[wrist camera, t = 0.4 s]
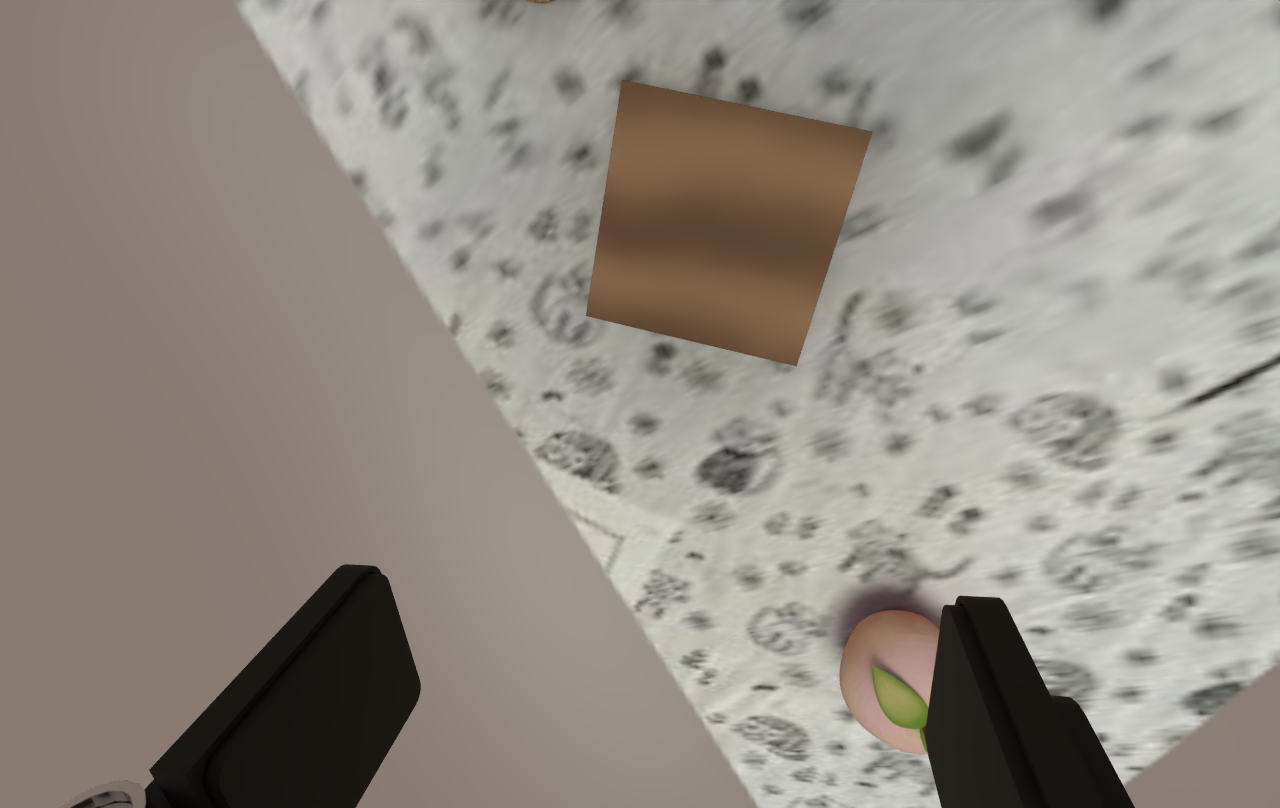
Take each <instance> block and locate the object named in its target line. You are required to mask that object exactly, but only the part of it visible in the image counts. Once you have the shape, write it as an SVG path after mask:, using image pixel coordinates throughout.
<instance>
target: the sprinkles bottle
mask: <svg viewBox="0 0 1280 808" xmlns="http://www.w3.org/2000/svg"><path fill="white" fill-rule="evenodd" d="M528 1H534V2H540V3H543V2H548V1H551V0H528Z"/></svg>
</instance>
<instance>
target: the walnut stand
mask: <svg viewBox="0 0 1280 808" xmlns="http://www.w3.org/2000/svg"><path fill="white" fill-rule="evenodd" d="M871 135H872V132H871V131H866V130H861V129H857V128H852V127H847V126H842V125H837V124H832V123H828V122H823V121H818V120H813V119H808V118H804V117H799V116H794V115H789V114H784V113H779V112H775V111H770V110H765V109H760V108H755V107H750V106H746V105H741V104H736V103H731V102H726V101H722V100H717V99H712V98H707V97H702V96H697V95H693V94H688V93H683V92H678V91H673V90H668V89H664V88H659V87H654V86H649V85H644V84H640V83H635V82H630V81H625V80H622V84H621V91H620V97H619V104H618V110H617V117H616V123H615V130H614V136H613V143H612V150H611V156H610V163H609V169H608V176H607V182H606V189H605V195H604V202H603V208H602V215H601V221H600V228H599V234H598V241H597V247H596V254H595V260H594V267H593V274H592V280H591V287H590V293H589V300H588V306H587V313H586V316H589V317H593V318H597V319H601V320H605V321H609V322H614V323H618V324H622V325H626V326H630V327H635V328H639V329H643V330H647V331H651V332H655V333H660V334H664V335H668V336H672V337H676V338H681V339H685V340H689V341H693V342H697V343H701V344H706V345H710V346H714V347H718V348H722V349H727V350H731V351H735V352H739V353H743V354H747V355H752V356H756V357H760V358H764V359H768V360H773V361H777V362H781V363H785V364H789V365H793V366H797V363H798V360H799V357H800V354H801V351H802V348H803V344H804V341H805V338H806V335H807V332H808V329H809V326H810V323H811V320H812V317H813V314H814V311H815V307H816V304H817V301H818V298H819V295H820V292H821V289H822V286H823V283H824V280H825V277H826V273H827V270H828V267H829V264H830V261H831V258H832V255H833V252H834V249H835V246H836V243H837V240H838V236H839V233H840V230H841V227H842V224H843V221H844V218H845V215H846V212H847V209H848V206H849V203H850V199H851V196H852V193H853V190H854V187H855V184H856V181H857V178H858V175H859V172H860V169H861V166H862V162H863V159H864V156H865V153H866V150H867V147H868V144H869V141H870V138H871Z"/></svg>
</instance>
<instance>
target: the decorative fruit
mask: <svg viewBox="0 0 1280 808" xmlns="http://www.w3.org/2000/svg"><path fill="white" fill-rule="evenodd" d="M939 631H940V628H937V627H936V626H935V625H934V623H932V622H931V621H930V620H928V619H927V618H925V617H923V616H921V615H919V614H916V613H912V612H908V611H901V610H886V611H881V612H877V613H874V614H872V615H869V616H868V617H866V618H865V619H863V620H862V621H861V622H860V623H859V624H858V625H857V626H856V627H855V629H854V630H853V632H852V633H851V635H850V637H849V639H848V641H847V644H846V646H845V649H844V652H843V656H842V660H841V665H840V687H841V691H842V695H843V698H844V700H845V702H846V705H847V707H848V708H849V710H850V712H851V713H852V715H853V716H854V717H855V719H856V720H857V721H858V722H859V723H860V724H861V726H862V727H864V728H865V729H866V730H867V731H868V732H869V733H871V734H872V735H874V736H875V737H876V738H878V739H879V740H881V741H882V742H884V743H886V744H887V745H889V746H891V747H893V748H896V749H898V750H901V751H904V752H908V753H914V754H928V751H927V745H926V722H927V715H928V708H929V701H930V694H931V687H932V680H933V673H934V666H935V659H936V652H937V645H938V638H939Z"/></svg>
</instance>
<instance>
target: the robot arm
mask: <svg viewBox="0 0 1280 808" xmlns="http://www.w3.org/2000/svg"><path fill="white" fill-rule="evenodd" d="M420 687H421V684H420V680H419V676H418V673H417V670H416V666H415V663H414V660H413V657H412V654H411V650H410V647H409V644H408V641H407V638H406V634H405V631H404V628H403V625H402V622H401V619H400V615H399V612H398V609H397V606H396V603H395V599H394V596H393V593H392V590H391V586H390V583H389V580H388V578H387V577H386V576H385V575H382V574H381V572H380V570H379V569H378V568H377V567H375V566H367V565H348V564H347V565H346V564H345V565H342V566H340V567H339V568H338V569H337V570H336V571H335V572H334V573H333V574H332V575H331V576H330V577H329V578H328V579H327V580H326V581H325V582H324V584H323V585H322V586H321V587H320V588H319V589H318V590H317V591H316V592H315V593H314V594H313V595H312V596H311V597H310V599H308V601H307V602H306V603H305V604H304V605H303V606H302V607H301V608H300V609H299V610H298V611H297V612H296V613H295V614H294V616H293V617H292V618H291V619H290V620H289V621H288V622H287V623H286V624H285V625H284V626H283V627H282V629H280V631H279V632H278V633H277V634H276V635H275V636H274V637H273V638H272V639H271V640H270V641H269V642H268V643H267V644H266V646H265V647H264V648H263V649H262V650H261V651H260V652H259V653H258V654H257V655H256V656H255V657H254V658H253V659H252V661H251V662H250V663H249V664H248V665H247V666H246V667H245V668H244V669H243V670H242V671H241V672H240V673H239V675H238V676H237V677H236V678H235V679H234V680H233V681H232V682H231V683H230V684H229V685H228V686H227V687H226V688H225V689H224V691H223V692H222V693H221V694H220V695H219V696H218V697H217V698H216V699H215V700H214V701H213V702H212V703H211V704H210V706H209V707H208V708H207V709H206V710H205V711H204V712H203V713H202V714H201V715H200V716H199V717H198V718H197V719H196V721H195V722H194V723H193V724H192V725H191V726H190V727H189V728H188V729H187V730H186V731H185V732H184V733H183V734H182V735H181V737H180V738H179V739H178V740H177V741H176V742H175V743H174V744H173V745H172V746H171V747H170V748H169V749H168V750H167V752H166V753H165V754H164V755H163V756H162V757H161V758H160V759H159V760H158V761H157V762H156V763H155V764H154V765H153V767H152V768H151V769H150V770H149V771H150V773H151V774H152V776H153V777H154V780H153V781H152V782H151V783H150V784H149V785H148V787H147V788H146V789H145V790H144V789H143V788H142V787H141V786H140V785H139V784H138V783H135V782H131V781H127V780H125V781H115V782H109V783H107V784H104V785H100V786H98V787H95V788H92V789H90V790H88V791H86V792H84V793H82V794H81V795H79V796H77V797H75V798H73V799H71V800H70V801H68V802H67V803H65V804H64V805H63V806H61V807H60V808H356V806H357V804H358V803H359V801H360V799H361V797H362V796H363V794H364V792H365V791H366V789H367V787H368V786H369V784H370V782H371V780H372V779H373V777H374V775H375V773H376V772H377V770H378V769H379V767H380V765H381V763H382V762H383V760H384V758H385V757H386V755H387V753H388V751H389V750H390V748H391V746H392V745H393V743H394V741H395V740H396V738H397V736H398V734H399V733H400V731H401V729H402V727H403V726H404V724H405V722H406V721H407V719H408V717H409V716H410V714H411V712H412V711H413V709H414V707H415V705H416V703H417V701H418V698H419V695H420V689H421V688H420ZM926 745H927V751H928V756H929V760H930V764H931V768H932V772H933V775H934V779H935V783H936V787H937V791H938V795H939V799H940V803H941V807H942V808H1135V807H1134V805H1133V803H1132V801H1131V799H1130V798H1129V796H1128V794H1127V792H1126V790H1125V788H1124V786H1123V784H1122V783H1121V781H1120V779H1119V777H1118V775H1117V773H1116V771H1115V770H1114V768H1113V766H1112V764H1111V762H1110V760H1109V758H1108V756H1107V755H1106V753H1105V751H1104V749H1103V747H1102V745H1101V743H1100V741H1099V740H1098V738H1097V736H1096V734H1095V732H1094V730H1093V728H1092V726H1091V725H1090V723H1089V721H1088V719H1087V717H1086V715H1085V714H1084V712H1083V711H1082V709H1081V707H1080V706H1079V704H1078V703H1077V702H1075V701H1074V700H1073V699H1072V698H1070V697H1064V696H1051V695H1050V694H1049V692H1048V690H1047V688H1046V686H1045V684H1044V682H1043V680H1042V678H1041V676H1040V673H1039V671H1038V669H1037V667H1036V665H1035V663H1034V661H1033V659H1032V657H1031V655H1030V653H1029V651H1028V649H1027V647H1026V645H1025V643H1024V641H1023V639H1022V637H1021V635H1020V633H1019V631H1018V629H1017V627H1016V625H1015V623H1014V621H1013V619H1012V617H1011V614H1010V612H1009V610H1008V608H1007V606H1006V605H1005V603H1004V601H1003V600H1002V599H1000V598H994V597H974V596H958V598H957V599H956V603H955V605H944V607H943V610H942V617H941V624H940V631H939V638H938V645H937V652H936V659H935V666H934V673H933V680H932V687H931V694H930V701H929V708H928V715H927V722H926Z"/></svg>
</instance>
